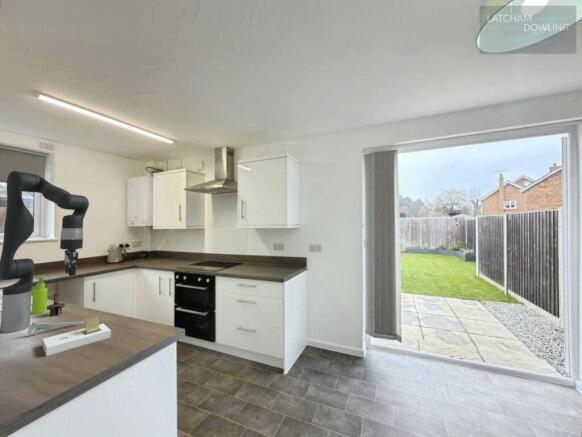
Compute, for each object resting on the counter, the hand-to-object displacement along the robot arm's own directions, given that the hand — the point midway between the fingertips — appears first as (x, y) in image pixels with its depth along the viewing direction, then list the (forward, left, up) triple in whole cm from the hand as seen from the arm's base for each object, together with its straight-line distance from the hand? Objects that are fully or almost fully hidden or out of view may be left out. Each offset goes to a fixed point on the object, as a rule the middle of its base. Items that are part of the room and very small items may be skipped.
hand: (70, 274), depth 107 cm
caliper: (-13, -1, -28) cm, 31 cm away
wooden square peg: (+10, +6, -28) cm, 30 cm away
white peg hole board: (+10, +2, -28) cm, 29 cm away
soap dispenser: (-53, -4, -28) cm, 60 cm away
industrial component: (-42, +1, -28) cm, 51 cm away
